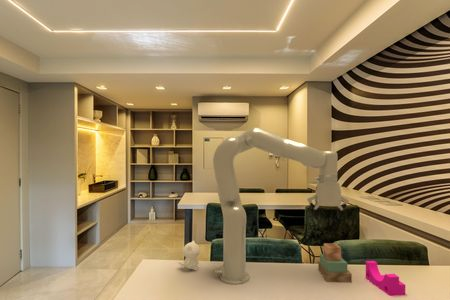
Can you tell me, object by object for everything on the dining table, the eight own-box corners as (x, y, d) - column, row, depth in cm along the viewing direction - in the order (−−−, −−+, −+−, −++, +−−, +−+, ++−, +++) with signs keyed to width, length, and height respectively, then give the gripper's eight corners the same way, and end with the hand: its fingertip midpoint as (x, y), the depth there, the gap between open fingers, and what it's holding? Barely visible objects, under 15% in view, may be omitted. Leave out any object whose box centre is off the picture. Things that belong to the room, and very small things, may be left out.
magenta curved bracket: (405, 296, 103) (405, 276, 103) (389, 297, 103) (389, 277, 103) (379, 278, 118) (379, 260, 118) (365, 278, 118) (365, 261, 118)
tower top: (328, 272, 115) (328, 262, 115) (319, 262, 125) (319, 254, 125) (347, 272, 115) (347, 262, 115) (337, 262, 125) (337, 254, 125)
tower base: (326, 283, 114) (326, 273, 114) (318, 270, 126) (318, 261, 126) (351, 283, 114) (351, 273, 114) (340, 271, 126) (340, 262, 126)
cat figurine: (197, 273, 123) (197, 246, 123) (174, 271, 124) (174, 245, 124) (202, 265, 131) (201, 240, 131) (180, 264, 133) (180, 238, 133)
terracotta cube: (327, 260, 117) (327, 247, 117) (323, 255, 123) (323, 243, 123) (341, 260, 117) (340, 247, 117) (336, 255, 123) (336, 243, 123)
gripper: (309, 179, 118) (309, 220, 118) (351, 180, 117) (351, 221, 116) (305, 178, 125) (305, 216, 125) (345, 178, 124) (344, 217, 124)
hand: (327, 218), depth 121 cm, fingers open, 9 cm apart
